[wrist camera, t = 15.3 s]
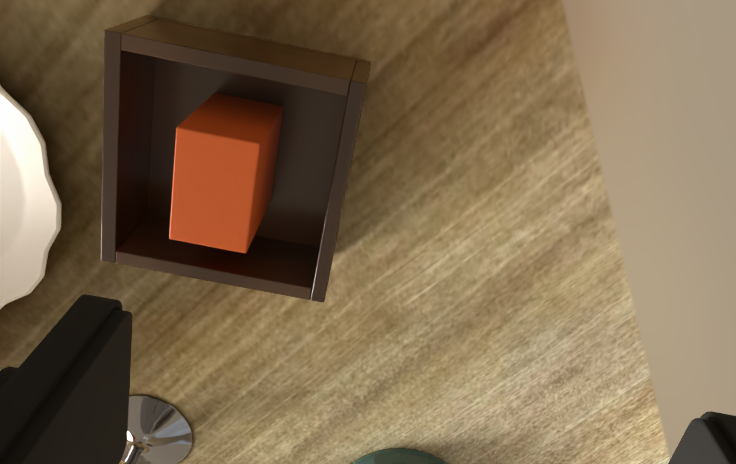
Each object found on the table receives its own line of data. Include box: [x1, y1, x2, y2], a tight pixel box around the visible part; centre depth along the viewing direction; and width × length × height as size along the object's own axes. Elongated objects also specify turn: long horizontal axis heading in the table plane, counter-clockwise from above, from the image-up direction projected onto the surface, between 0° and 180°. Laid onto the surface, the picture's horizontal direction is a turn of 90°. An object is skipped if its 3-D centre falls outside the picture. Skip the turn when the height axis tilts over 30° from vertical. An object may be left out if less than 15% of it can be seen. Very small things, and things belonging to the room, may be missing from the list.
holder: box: [101, 15, 371, 302], centre depth 36 cm, size 13×13×6 cm
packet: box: [169, 93, 284, 253], centre depth 35 cm, size 4×6×7 cm, turn 169°
